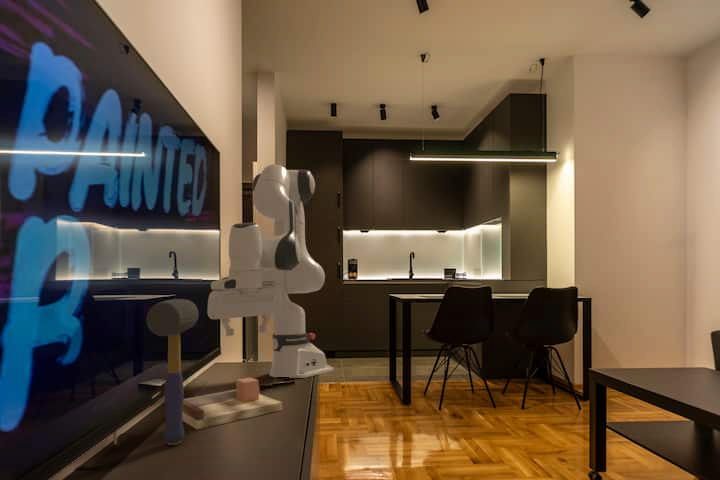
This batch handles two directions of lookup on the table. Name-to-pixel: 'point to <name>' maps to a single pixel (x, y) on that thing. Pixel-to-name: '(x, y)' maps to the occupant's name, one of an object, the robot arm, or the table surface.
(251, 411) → the birch board
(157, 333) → the rubber mallet
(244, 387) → the block
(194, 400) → the steel straightedge
